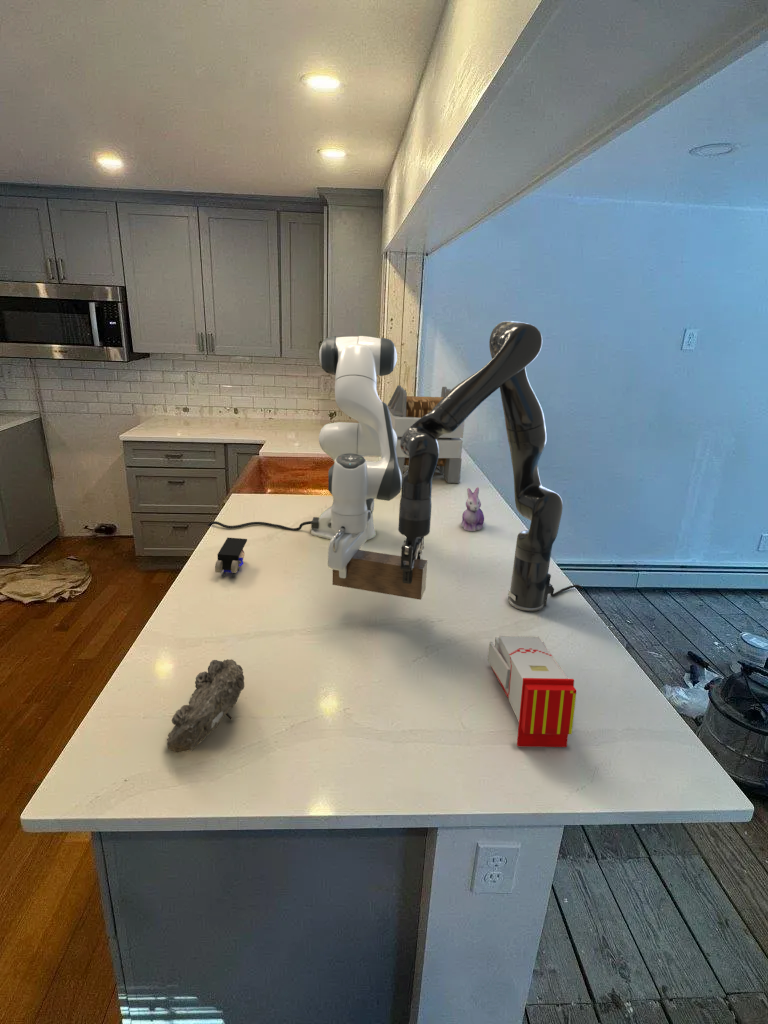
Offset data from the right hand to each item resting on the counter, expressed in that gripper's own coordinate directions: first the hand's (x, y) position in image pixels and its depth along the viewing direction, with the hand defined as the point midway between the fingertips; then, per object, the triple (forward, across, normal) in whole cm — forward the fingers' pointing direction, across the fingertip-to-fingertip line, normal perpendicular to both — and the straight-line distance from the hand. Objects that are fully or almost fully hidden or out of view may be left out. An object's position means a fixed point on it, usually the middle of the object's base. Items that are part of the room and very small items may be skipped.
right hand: (411, 575), depth 140 cm
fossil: (+13, -47, +27) cm, 56 cm away
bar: (+5, 0, +8) cm, 10 cm away
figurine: (+13, +73, -6) cm, 75 cm away
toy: (+13, -22, -30) cm, 39 cm away
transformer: (+13, +137, +28) cm, 140 cm away
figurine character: (+13, +11, +56) cm, 59 cm away
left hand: (+2, 0, +16) cm, 17 cm away
